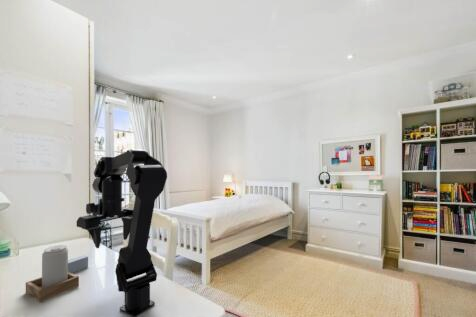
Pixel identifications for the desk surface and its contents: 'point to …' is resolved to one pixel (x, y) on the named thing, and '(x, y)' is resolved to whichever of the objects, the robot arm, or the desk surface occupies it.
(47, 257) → the beverage can
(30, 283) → the tray
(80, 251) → the desk surface
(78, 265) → the block
